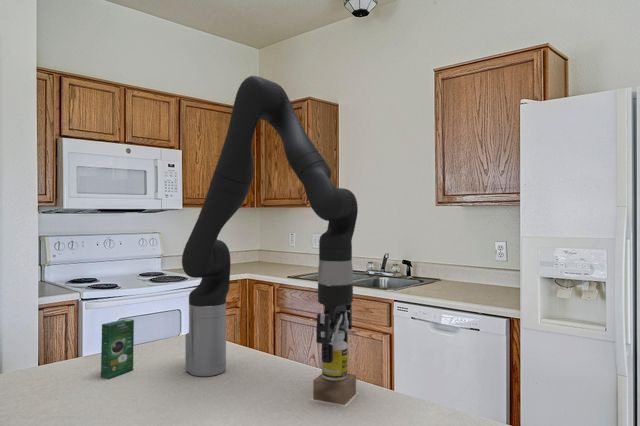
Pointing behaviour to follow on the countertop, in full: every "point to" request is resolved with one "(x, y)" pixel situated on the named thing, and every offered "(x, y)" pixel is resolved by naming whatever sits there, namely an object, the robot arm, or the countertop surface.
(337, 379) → the supplement bottle
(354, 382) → the walnut block
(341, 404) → the mat
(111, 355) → the coffee box
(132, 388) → the countertop surface
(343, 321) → the robot arm
